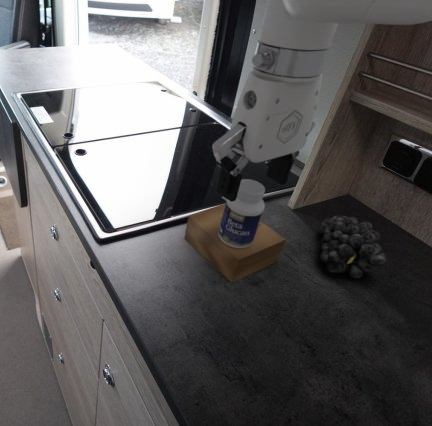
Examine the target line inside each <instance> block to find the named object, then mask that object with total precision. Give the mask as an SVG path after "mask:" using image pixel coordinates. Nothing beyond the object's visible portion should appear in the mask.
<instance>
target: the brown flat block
mask: <svg viewBox="0 0 432 426" xmlns="http://www.w3.org/2000/svg"><path fill="white" fill-rule="evenodd" d="M220 198H221V199H223V201H225V202H224V203H222V204H219V205H216V206H214V207H213V206H212V207H209V208H207V209H204V210H201V211H198V212H195V213H192V214H189V215H188V217H187V222H186V226H185V233H184V237H183V238H184V239H185V240H186V241H187V242H188V243H189V244H190V245H191V246H192V247H193V248H194V249H196V251H198V252H199V254H201V256H202V257H204V258H205V259H206V260H207V261H208V262H209V263H210V264H211V265H212V266H213V267H214V268H215V269H216V270H218V272H220V273H221V274H222V275H223V276H224V277H225V278H226V279H227V280H228V281H229V282H230V283H231V284H232V283H235V282H237V281H238V280H241V279H243V278H245V277H247V276H250V275H252V274H254V273H256V272H258V271H260V270H262V269H265V268H267V267H269V266H271V265H273V264H275V263H277V261H278V259H279V257H280V255H281V252H282V249H283V248H284V245H285V242H286V238H284V237H283V236H282V235H281V234H279V233H277V232H276V231H274V230H273V229H272V228H270V227H269V226H268V225H267V224H265V223H264V222H262V221H261V220H260V223H259V226H258V228H257V231H256V234H255V237H254V240H253V242H252V244H251V245H250V246H249V247H246V248H234V247H230V246H228V245H226V244H225V243H223V242H222V241H221V239H220V238H219V235H218V232H219V227H220V224H221V220H222V216H223V213H224V209H225V205H226V201H227V199H226V198H225V197H224V196H221V197H220Z"/></svg>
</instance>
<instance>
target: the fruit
mask: <svg viewBox="0 0 432 426" xmlns="http://www.w3.org/2000/svg"><path fill="white" fill-rule="evenodd" d="M320 226H321V228H322V229H323V237H322V238H321V239H320V244H321V245H320V246H321V247H320V249H321V252H320V254H319V258H320V260H321V261H322V262H323V263H325V264H326V269H327V271H328V272H330V273H332V274H334V273H335V274H339V273H340V274H342V275H343V274H346V273H348V275H349V276H350V277H351V278H354V279H360V278H362V277H363V275H364V272H366V273H368V272H372V271H373V270H374V269H375V268H376V267H378V268H382V267H383V266H385V265H386V263H387V257H386V255H385V253H383V252H382V251H383V249H382V247H381V246H380V245H379V243H377V242H378V241H379V240H380V236H381V235H380V232H379V231H377V230H373V225H372V223H371V222H369V221H367V220H364V221H361V222H360V223H359V219H358V218H357V217H356V216H349V217H348V216H346V215H334V216H333V217H326V218H324V219H323V220H322V222H321V224H320Z"/></svg>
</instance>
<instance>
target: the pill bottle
mask: <svg viewBox="0 0 432 426" xmlns="http://www.w3.org/2000/svg"><path fill="white" fill-rule="evenodd" d="M265 192H266V187H265V186H264V185H263V184H262V183H260V182H259V181H257V180H254V179H249V178H242V179H241V183H240V187H239V191H238V194H237V198H236V200H235V201H232V202H231V201H229V200H228V199H227V201H225V203H226V205H225V209H224V213H223V216H222V220H221V224H220V227H219V232H218V235H219V238H220V239H221V241H222V242H223V243H225V244H226V245H228V246H230V247H234V248H246V247H249V246H250V245H251V244H252V242H253V240H254V237H255V234H256V231H257V228H258V226H259V223H260V221H261V220H262V218H263V214H264V211H265V207H266V204H265V201H264V199H263V198H264V195H265V194H266V193H265Z"/></svg>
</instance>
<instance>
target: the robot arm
mask: <svg viewBox="0 0 432 426" xmlns="http://www.w3.org/2000/svg"><path fill="white" fill-rule="evenodd" d="M429 22H432V0H267V2H266V7H265V11H264V15H263V19H262V23H261V28H260V32H259V35H258V40H257V43H256V48H255V52H254V55H253V57H252V60H251V63H252V65H251V69H250V72H248V74H247V76H246V79H245V82H244V84H243V87H242V89H241V92H240V94H239V97H238V101H237V104H236V107H235V110H234V114H233V116H232V121H231V125H230V129H229V131H227V132H226V133H224V134H223V135H222V136H221V137H220V138H218V139H217V140H215V141H214V142H213V144H212V146H211V147H212V152H213V156H214V158H213V159H214V161H215V163H216V164H217V166H218V168H220V172H219V177H218V181H217V184H216V185H217V186H216V192H217V193H218V194H219V195H220V196H221V197H224V198H226V199H228V200H229V201H231V202H232V201H235V200H236V198H237V194H238V191H239V187H240V183H241V180H243V175H242V174H240V173H241V172H242V171H243V170H244V168H245V167H246V166H247V164H249V162H251V163H253V164H254V163H255V164H258V163H262V162H266V161H269V160H270V162H269V164H268V168H267V171H266V173H265V174H266V177H267V178H269V179H271V180H273V181H274V182H276V183H278V184H280V185H286V184H287V183H288V180H289V176H290V174H291V170H292V168H293V165H294V162H295V159H297V158H298V157H299V155H300V150H302V149H303V148H304V147H305V145H306V143H307V141H308V137H309V135H310V134H311V132H312V130H313V129H314V128H315V126H316V123H315V121H314V117H315V113H316V111H317V106H318V104H319V103H318V102H319V98H320V94H321V88H322V82H323V73H322V72H323V69H324V67H325V65H326V62H327V58H328V56H329V52H330V49H331V46H332V43H333V41H334V38H335V34H336V31H337V30H338V29H337V28H338V25H339V24H344V25H345V24H366V25H367V24H369V25H391V26H412V25H419V24H424V23H429ZM236 155H237V156H239V159H238V160H237V161H236V162H234V161H233V159H234V158H235V157H236Z"/></svg>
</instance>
